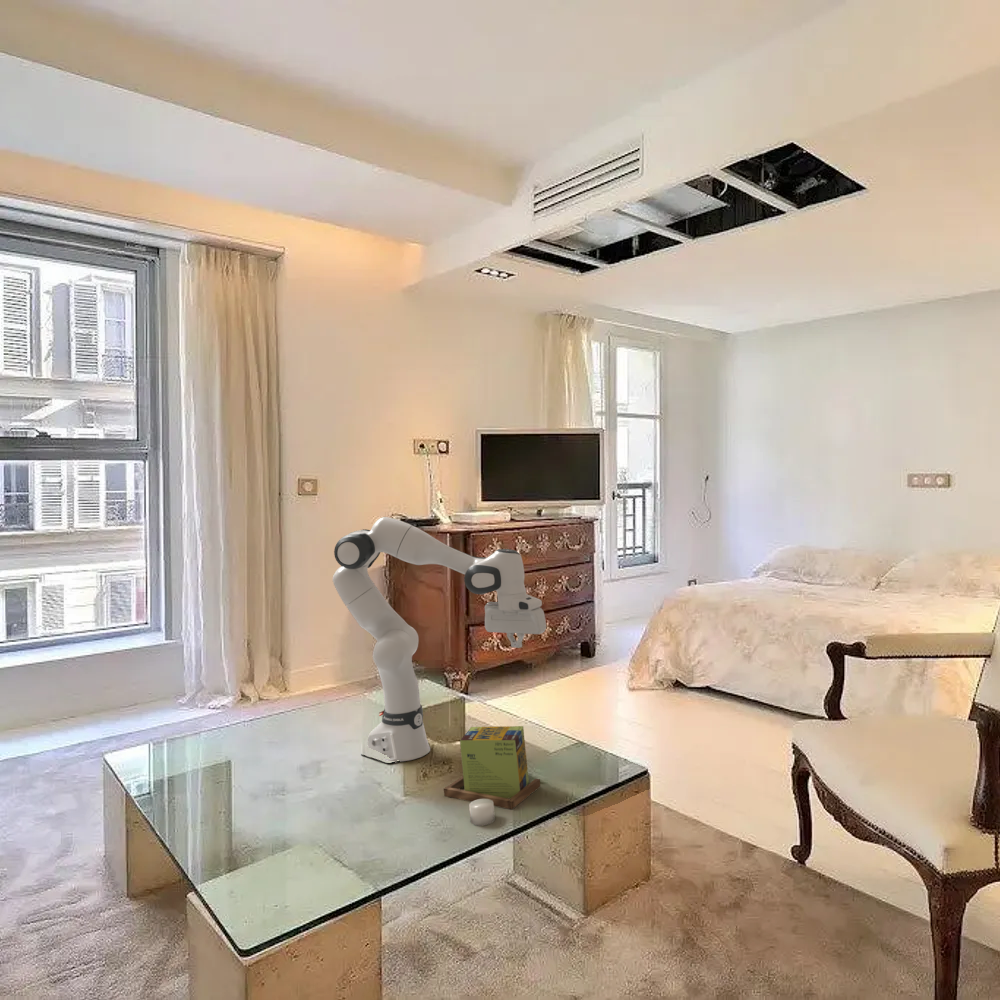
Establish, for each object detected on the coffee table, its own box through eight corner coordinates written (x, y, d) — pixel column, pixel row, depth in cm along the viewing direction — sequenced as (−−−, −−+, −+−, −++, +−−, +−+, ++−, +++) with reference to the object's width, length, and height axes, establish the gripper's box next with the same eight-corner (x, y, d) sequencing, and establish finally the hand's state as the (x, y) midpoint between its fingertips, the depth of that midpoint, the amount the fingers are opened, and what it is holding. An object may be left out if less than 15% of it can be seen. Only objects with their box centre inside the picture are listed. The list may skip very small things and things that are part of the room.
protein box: (521, 799, 190) (515, 739, 189) (464, 798, 193) (458, 740, 193) (529, 781, 200) (524, 725, 199) (475, 781, 204) (470, 726, 203)
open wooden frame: (444, 795, 196) (443, 788, 196) (475, 775, 208) (474, 768, 208) (512, 809, 184) (511, 801, 184) (540, 786, 196) (539, 779, 196)
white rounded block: (465, 823, 179) (464, 807, 179) (479, 812, 184) (478, 797, 184) (485, 827, 176) (484, 811, 176) (499, 816, 181) (498, 801, 181)
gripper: (478, 603, 226) (482, 648, 227) (535, 604, 215) (540, 651, 215) (490, 599, 231) (494, 643, 232) (546, 600, 220) (550, 646, 221)
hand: (516, 647), depth 223 cm, fingers closed
